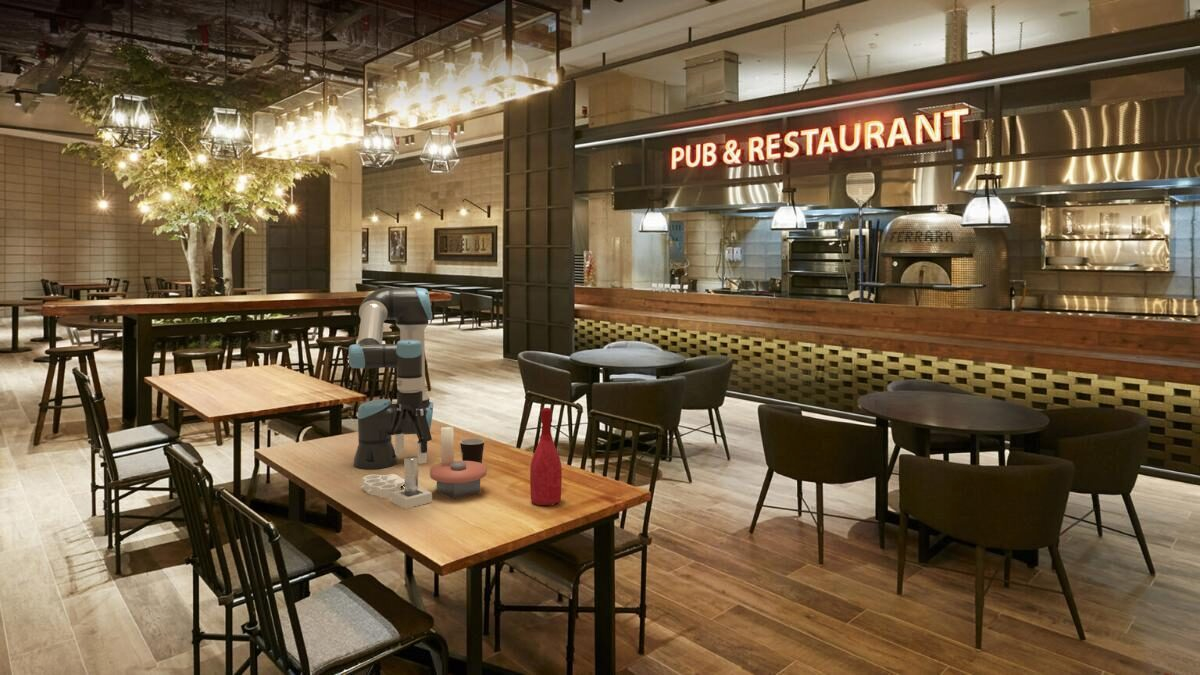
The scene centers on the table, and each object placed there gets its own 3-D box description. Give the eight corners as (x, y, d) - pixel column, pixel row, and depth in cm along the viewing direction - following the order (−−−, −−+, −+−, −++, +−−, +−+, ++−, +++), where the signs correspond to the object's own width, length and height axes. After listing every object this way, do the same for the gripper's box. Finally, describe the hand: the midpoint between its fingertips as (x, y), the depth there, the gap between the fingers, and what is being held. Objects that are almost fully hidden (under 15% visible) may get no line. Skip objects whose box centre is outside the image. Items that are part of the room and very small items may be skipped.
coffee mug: (479, 472, 255) (479, 445, 254) (456, 470, 257) (456, 443, 256) (490, 463, 266) (490, 437, 265) (468, 462, 268) (468, 435, 267)
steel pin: (402, 502, 223) (401, 458, 222) (413, 499, 226) (413, 455, 225) (409, 505, 221) (408, 460, 219) (420, 502, 223) (420, 458, 222)
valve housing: (436, 492, 233) (436, 475, 233) (462, 485, 240) (462, 468, 240) (454, 499, 226) (454, 482, 226) (480, 492, 233) (480, 475, 233)
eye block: (391, 501, 223) (390, 492, 223) (416, 495, 230) (416, 486, 229) (406, 509, 217) (405, 499, 217) (431, 502, 223) (431, 493, 223)
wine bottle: (549, 509, 219) (549, 412, 216) (523, 503, 224) (524, 408, 221) (567, 500, 227) (568, 407, 224) (542, 494, 232) (543, 403, 229)
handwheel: (447, 486, 220) (447, 442, 218) (419, 473, 233) (419, 431, 232) (497, 475, 232) (497, 433, 230) (467, 463, 245) (467, 423, 244)
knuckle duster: (417, 493, 233) (374, 502, 224) (393, 479, 247) (352, 488, 238) (417, 483, 233) (373, 492, 224) (393, 470, 247) (351, 478, 237)
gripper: (378, 386, 226) (379, 452, 228) (420, 397, 208) (421, 469, 210) (400, 384, 231) (401, 448, 233) (442, 394, 213) (443, 464, 215)
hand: (410, 458), depth 222 cm, fingers open, 13 cm apart
